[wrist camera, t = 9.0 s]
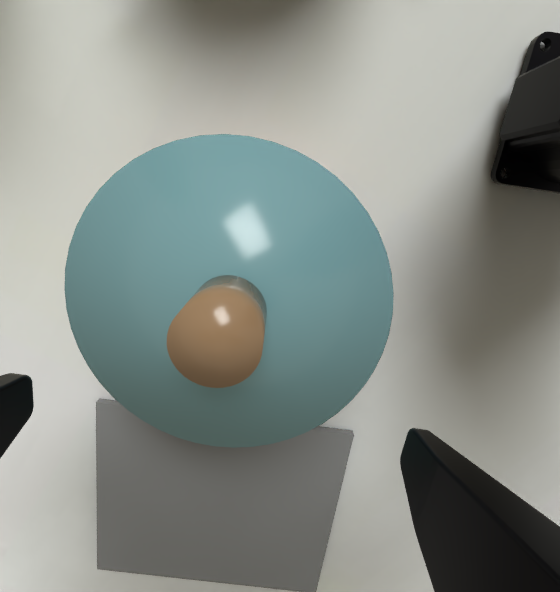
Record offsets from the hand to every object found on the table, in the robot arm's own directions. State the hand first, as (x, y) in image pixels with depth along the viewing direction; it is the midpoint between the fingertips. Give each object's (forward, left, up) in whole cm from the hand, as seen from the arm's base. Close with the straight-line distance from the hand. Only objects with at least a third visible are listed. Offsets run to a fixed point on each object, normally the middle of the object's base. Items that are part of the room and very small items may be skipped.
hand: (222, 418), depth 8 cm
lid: (+1, 0, -7) cm, 7 cm away
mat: (+1, +16, -12) cm, 20 cm away
